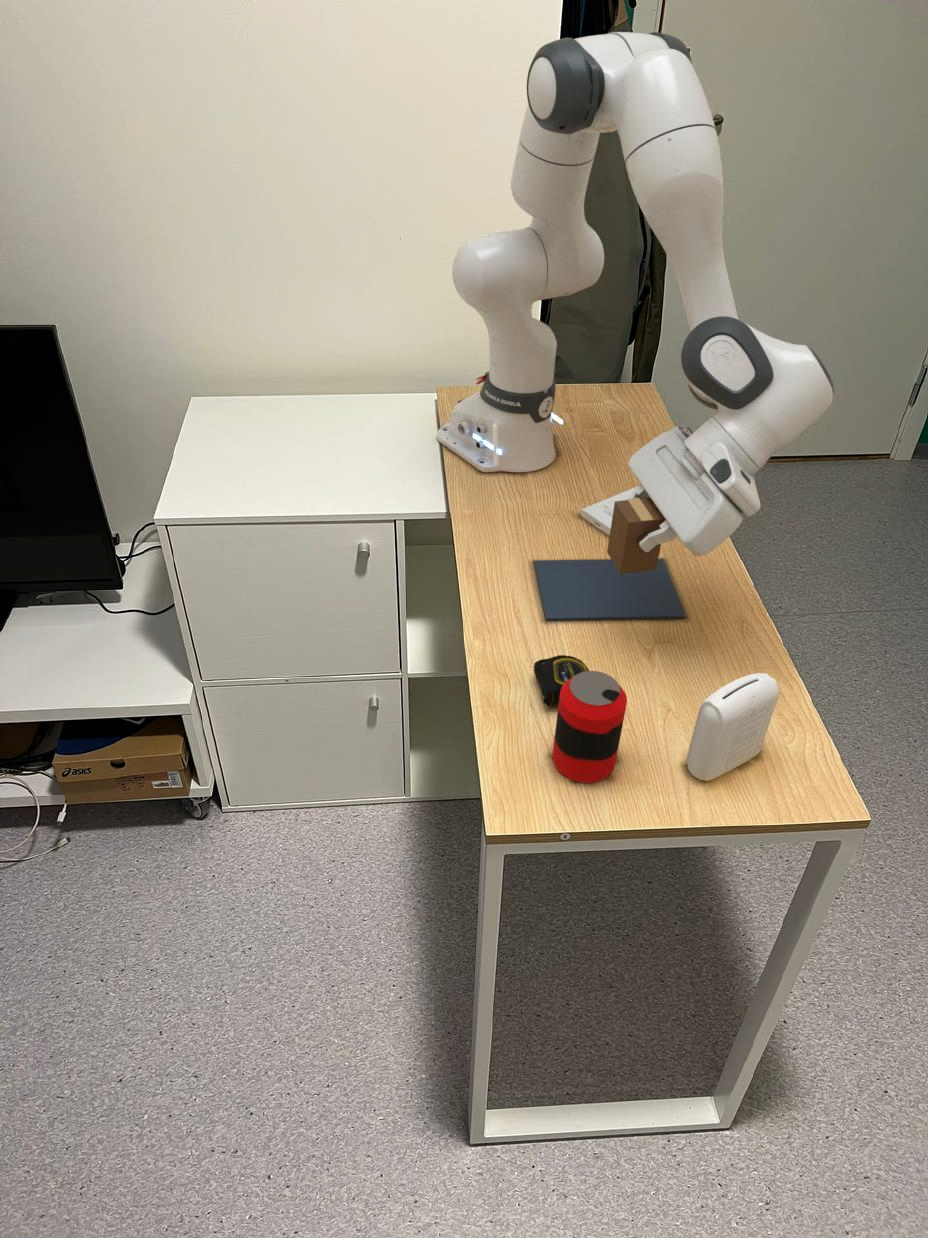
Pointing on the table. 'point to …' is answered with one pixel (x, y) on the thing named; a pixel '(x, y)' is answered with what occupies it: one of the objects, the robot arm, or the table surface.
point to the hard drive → (604, 511)
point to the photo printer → (732, 725)
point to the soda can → (588, 726)
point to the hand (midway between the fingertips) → (631, 532)
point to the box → (633, 535)
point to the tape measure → (556, 675)
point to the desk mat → (604, 591)
